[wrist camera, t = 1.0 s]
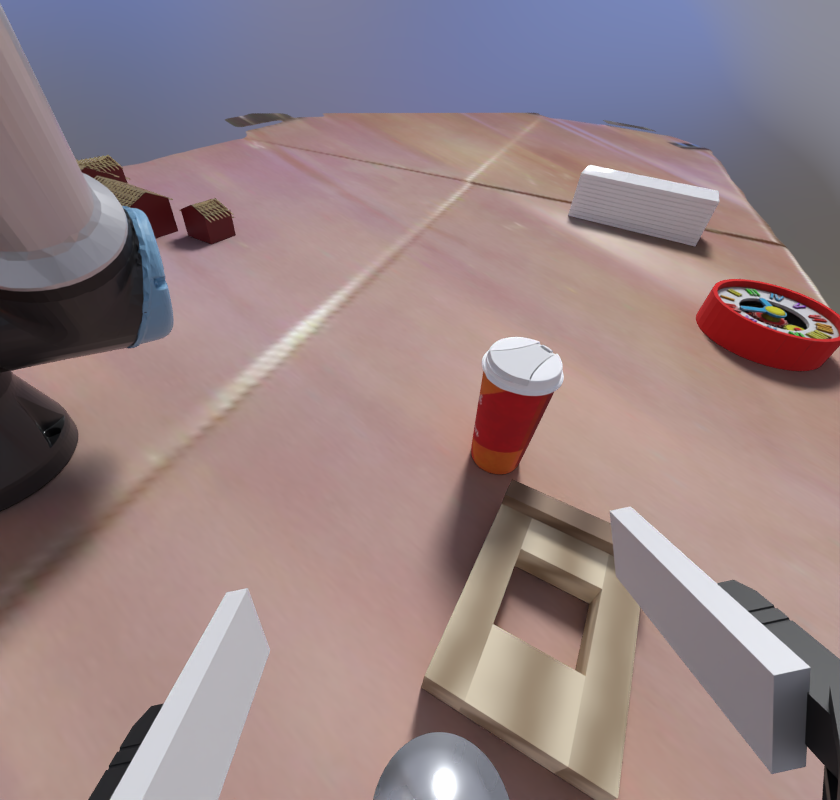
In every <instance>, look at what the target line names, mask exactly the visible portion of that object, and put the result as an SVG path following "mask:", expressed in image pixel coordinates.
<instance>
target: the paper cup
mask: <svg viewBox="0 0 840 800" xmlns="http://www.w3.org/2000/svg"><path fill="white" fill-rule="evenodd" d="M552 352H553V351H552V350H551V349H549V348H548V347H546V346H545V345H540V342H539V341H536V340H533V339H529V338H523V337H509V338H504V339H501V340H499V341H497V342H495V343H494V344H493V345H492V346H491V347H490V349H489V350H488V351H487V352H486V353H485V355H484V356H483V359H482V368H483V378H482V384H481V390H480V396H479V402H478V408H477V414H476V421H475V427H474V433H473V440H472V449H471V454H472V458H473V460H474V462H475V463H476V464H477V465H478V466H479V467H480V468H481V469H483V470H485V471H487V472H489V473H492V474H507V473H510V472H512V471H513V470H514V469H515V468H516V467H517V466H518V464H519V462H520V461H521V459H522V457H523V455H524V453H525V451H526V449H527V447H528V445H529V443H530V441H531V439H532V437H533V435H534V432H535V430H536V428H537V426H538V424H539V422H540V420H541V418H542V416H543V414H544V412H545V410H546V408H547V406H548V404H549V402H550V399H551V397H552V395H553V393H554V391H556V390H557V389H558V388H559V387H560V386H561V384H562V383H563V379H564V378H563V371H562V361H561V359H560V357H559V356H558V354H554V353H552Z"/></svg>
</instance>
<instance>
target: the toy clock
mask: <svg viewBox="0 0 840 800" xmlns="http://www.w3.org/2000/svg"><path fill="white" fill-rule="evenodd" d="M696 321H697V324H698V326H699V327H700V329H701V330H702V331H703V332H704V333H705V334H706V335H707V336H708V337H709V338H710V339H711V340H713V341H714V342H716V343H717V344H719V345H720V346H722V347H723V348H725V349H727V350H729V351H730V352H733V353H735V354H737V355H739V356H741V357H743V358H746V359H748V360H751V361H753V362H756V363H759V364H763V365H766V366H770V367H774V368H778V369H784V370H791V371H809V370H814V369H817V368H819V367H820V366H822V364H823V363H824V362H825V361H826V360H827V359H828V358H829V357H830V356H831V355H832V354H833V352H834V351H835V350H836V349H837V348H838V347H839V346H840V315H839V314H837V313H836V312H834V311H833V310H832V309H830V308H828V307H827V306H825V305H823V304H822V303H820V302H818V301H816V300H814V299H812V298H810V297H807V296H805V295H803V294H800V293H798V292H795V291H792V290H789V289H786V288H783V287H780V286H776V285H773V284H769V283H764V282H759V281H753V280H744V279H729V280H723V281H720V282H718V283H716V284H715V286H714V287H713V288H712V290H711V292H710V293H709V295H708V297H707V298H706V300H705V302H704V303H703V305H702V306H701V308H700V310H699V311H698V313H697V315H696Z"/></svg>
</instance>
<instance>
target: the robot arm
mask: <svg viewBox="0 0 840 800" xmlns="http://www.w3.org/2000/svg"><path fill="white" fill-rule="evenodd" d="M172 328H173V310H172V304H171V299H170V294H169V290H168V286H167V283H166V281H165V274H164V268H163V264H162V260H161V256H160V253H159V249H158V246H157V242H156V239H155V236H154V233H153V230H152V227H151V224H150V222H149V220H148V217H147V216H146V214H145V213H144V212H143V211H141V210H139V209H137V208H129V207H127V206H121V204H120V203H119V201H118V200H117V198H116V197H115V195H114V194H113V193H112V192H111V191H110V190H109V189H108V188H107V187H106V186H104V185H103V184H101V183H100V182H99V181H97V180H96V179H94V178H92V177H90V176H88V175H86V174H84V173H82V172H81V170H80V168H79V166H78V164H77V161H76V159H75V157H74V155H73V153H72V151H71V149H70V147H69V145H68V143H67V141H66V139H65V137H64V135H63V132H62V130H61V129H60V126H59V124H58V122H57V120H56V118H55V116H54V114H53V112H52V110H51V108H50V106H49V103H48V102H47V99H46V97H45V95H44V93H43V91H42V89H41V87H40V85H39V83H38V81H37V79H36V77H35V74H34V72H33V70H32V68H31V66H30V64H29V62H28V60H27V58H26V56H25V54H24V52H23V50H22V48H21V45H20V43H19V41H18V39H17V37H16V35H15V33H14V31H13V29H12V27H11V25H10V23H9V21H8V19H7V16H6V14H5V12H4V10H3V8H2V6H1V4H0V511H1V510H3V509H5V508H7V507H10V506H12V505H14V504H15V503H17V502H19V501H21V500H23V499H24V498H26V497H28V496H29V495H31V494H32V493H34V492H35V491H37V490H38V489H40V488H41V487H42V486H44V485H45V484H46V483H48V482H49V481H50V480H51V479H52V478H53V477H54V476H56V475H57V474H58V473H59V472H60V471H61V469H62V468H63V467H64V466H65V465H66V463H67V462H68V461H69V459H70V458H71V456H72V455H73V453H74V451H75V448H76V446H77V442H78V430H77V427H76V425H75V423H74V422H73V420H72V419H71V417H70V416H69V415H68V413H67V412H66V410H65V409H64V408H63V407H62V406H61V405H60V404H59V403H57V402H56V401H54V400H53V399H51V398H50V397H48V396H46V395H45V394H43V393H42V392H40V391H39V390H37V389H36V388H34V387H33V386H31V385H30V384H28V383H27V382H25V381H24V380H22V379H20V378H19V377H17V376H16V375H14V374H13V373H12V372H11V370H16V369H21V368H26V367H31V366H36V365H40V364H45V363H50V362H55V361H60V360H65V359H70V358H75V357H81V356H86V355H91V354H96V353H102V352H107V351H112V350H117V349H123V348H134V347H137V346H139V344H142V343H146V342H150V341H154V340H158V339H161V338H164V337H165V336H167V335H168V334H169V333H170V332H171V330H172ZM610 519H611V530H612V541H613V551H614V562H615V573H616V577H617V578H618V580H619V581H620V582H621V583H622V585H623V586H624V587H625V588H626V590H627V591H628V592H629V593H630V595H631V596H632V597H633V599H634V600H635V601H636V602H637V604H638V605H639V606H640V607H641V609H642V610H643V611H644V613H645V614H646V615H647V616H648V618H649V619H650V620H651V621H652V623H653V624H654V625H655V626H656V628H657V629H658V630H659V632H660V633H661V634H662V635H663V637H664V638H665V639H666V640H667V642H668V643H669V644H670V645H671V647H672V648H673V649H674V651H675V652H676V653H677V654H678V656H679V657H680V658H681V659H682V661H683V662H684V663H685V665H686V666H687V667H688V668H689V670H690V671H691V672H692V673H693V675H694V676H695V677H696V678H697V680H698V681H699V682H700V684H701V685H702V686H703V687H704V689H705V690H706V691H707V692H708V694H709V695H710V696H711V697H712V699H713V700H714V701H715V703H716V704H717V705H718V706H719V708H720V709H721V710H722V711H723V713H724V714H725V715H726V717H727V718H728V719H729V720H730V722H731V723H732V724H733V725H734V727H735V728H736V729H737V730H738V732H739V733H740V734H741V736H742V737H743V738H744V739H745V741H746V742H747V743H748V744H749V746H750V747H751V748H752V749H753V751H754V752H755V753H756V755H757V756H758V757H759V758H760V760H761V761H762V762H763V763H764V765H765V766H766V767H767V769H768V770H769V771H770V772H771V774H774V773H779V772H783V771H788V770H792V769H797V768H802V767H806V752H807V747H808V748H809V749H810V750H811V751H812V752H813V753H814V754H815V755H816V756H817V758H818V759H819V760H820V761H821V762H822V763H823V764H824V765H825V766H824V782H823V797H822V800H840V659H839V658H838V657H836V656H835V655H834V654H833V653H831V652H830V651H829V650H828V649H827V648H825V647H824V646H823V645H822V644H820V643H819V642H818V641H817V640H815V639H814V638H813V637H812V636H811V635H809V634H808V633H807V632H806V631H804V630H803V629H802V628H801V627H800V626H798V625H797V624H796V623H795V622H793V621H790V620H789V617H787V616H786V615H785V614H784V613H782V612H781V611H780V610H779V609H778V608H775V607H774V605H773V604H771V603H770V602H769V601H768V600H767V599H765V598H764V597H763V596H762V595H760V594H759V593H758V592H757V591H755V590H753V589H751V588H749V587H747V586H745V585H743V584H741V583H739V582H737V581H735V580H730V581H726V582H721V583H716V582H715V581H713V580H712V579H711V578H710V577H709V576H708V575H707V574H706V573H704V572H703V571H702V570H701V569H700V568H699V567H698V566H697V565H696V564H694V563H693V562H692V561H691V560H690V559H689V558H688V557H687V556H685V555H684V554H683V553H682V552H681V551H680V550H679V549H678V548H676V547H675V546H674V545H673V544H672V543H671V542H670V541H669V540H668V539H666V538H665V537H664V536H663V535H662V534H661V533H660V532H659V531H657V530H656V529H655V528H654V527H653V526H652V525H651V524H650V523H649V522H647V521H646V520H645V519H644V518H643V517H642V516H641V515H640V514H638V513H637V512H636V511H635V510H634V509H633V508H632V507H626V508H621V509H617V510H612V511H610ZM269 652H270V648H269V646H268V643H267V640H266V637H265V634H264V632H263V629H262V626H261V623H260V621H259V618H258V615H257V612H256V609H255V607H254V604H253V601H252V598H251V595H250V593H249V590H248V588H246V589H241V590H236V591H231V592H227V593H226V594H225V596H224V598H223V600H222V601H221V603H220V605H219V607H218V609H217V610H216V612H215V614H214V616H213V617H212V619H211V621H210V623H209V625H208V626H207V628H206V630H205V632H204V633H203V635H202V637H201V639H200V641H199V642H198V644H197V646H196V648H195V649H194V651H193V653H192V655H191V657H190V658H189V660H188V662H187V664H186V665H185V667H184V669H183V671H182V672H181V674H180V676H179V678H178V680H177V681H176V683H175V685H174V687H173V688H172V690H171V692H170V694H169V696H168V697H167V699H166V701H165V703H164V704H160V705H155V706H151V707H150V708H149V709H148V710H147V711H146V713H145V714H144V715H143V716H142V717H141V718H140V719H139V720H138V721H137V722H136V723H135V724H134V726H133V727H132V728H131V730H130V732H129V733H128V735H127V737H126V738H125V740H124V742H123V743H122V745H121V747H120V751H119V752H117V753H116V755H115V757H114V758H113V760H112V761H111V763H110V765H109V769H108V770H106V771H105V773H104V775H103V776H102V778H101V780H100V781H99V783H98V785H97V786H96V788H95V790H94V791H93V793H92V794H91V796H90V798H89V799H88V800H218V798H219V795H220V793H221V790H222V787H223V784H224V781H225V778H226V775H227V772H228V770H229V767H230V764H231V761H232V758H233V755H234V752H235V750H236V747H237V744H238V741H239V738H240V735H241V732H242V729H243V727H244V724H245V721H246V718H247V715H248V712H249V709H250V707H251V704H252V701H253V698H254V695H255V692H256V689H257V687H258V684H259V681H260V678H261V675H262V672H263V669H264V666H265V664H266V661H267V658H268V655H269Z"/></svg>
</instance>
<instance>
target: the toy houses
mask: <svg viewBox="0 0 840 800" xmlns="http://www.w3.org/2000/svg"><path fill="white" fill-rule="evenodd" d="M99 157H100V156H99ZM99 157H97V158H96V157H94V158H93V159H92V158H89V159H85V160H84V161H83V160H80V161H78V160H76V161H78V163H80V162H81V161H82V162H81V163H80V164H78V163H77V164H78V166H79V168H80V170H81V172H82V173H84V174H86V175H88V176H90V177H92V178H94V179H96V180H97V181H99V182H100V183H101V184H103V185H104V186H106V187H107V188H108V189H109V190H110V191H111V192H112V193H113V194H114V195H115V197H116V198H117V200H118V201H119V203H120V204H121V206H127V207H129V208H137V209H139V210H141V211H143V212H144V213H145V214H146V216H147V217H148V220H149V222H150V224H151V227H152V230H153V233H154V236H155V238H158V237H161V236H164V235H167V234H170V233H173V232H176V231H178V229H177V225H176V222H175V219H174V216H173V212H172V209H171V206H170V203H169V199H171V198H168V197H165V196H163V195H160V194H157V193H154V192H150V191H147V190H144V189H142V188H139V187H136V186H133V185H130V184H127V181H126V178H127V177H125V175H124V173H123V170H122V169H123V168H122V167H121V166H120V165H119V164H118V163H117V162H116V161H115V160H113V159H112V158H111V157H110V156H109V155H107V156H102V157H100V158H99ZM103 157H104V158H103ZM98 158H99V159H98ZM102 158H103V159H102ZM90 159H91V161H92V160H93V161H92V162H91V161H89V160H90ZM94 159H95V160H94ZM86 160H87V161H86ZM99 160H100V161H99ZM85 161H86V162H88V161H89V162H88V163H86V162H85ZM83 162H84V163H83ZM82 163H83V164H82ZM127 179H130V178H127ZM171 200H173V199H171ZM179 211H181V212H182V215H183V219H184V222H185V226H186V229H187V232H188V236H191V237H193V238H196V239H199V240H201V241H204V242H207V243H209V244H214V243H216V242H219V241H222V240H224V239H227V238H230V237H232V236H235V230H234V225H233V221H232V218H234V217H232V216H231V214H232V215H233V213H231V211H229V210H228V209H227V208H226V207H225V206H224V205H223V204H222V203H220V202H219V201H218V200H217V199H216V198H214V199H210V200H207V201H205V202H204V201H203V202H201V203H197V204H194V205H190V206H187V207H185V208H183V209H181V210H179Z"/></svg>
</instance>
